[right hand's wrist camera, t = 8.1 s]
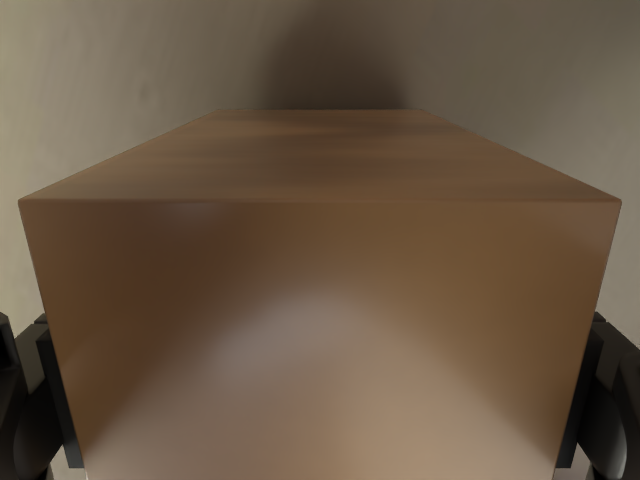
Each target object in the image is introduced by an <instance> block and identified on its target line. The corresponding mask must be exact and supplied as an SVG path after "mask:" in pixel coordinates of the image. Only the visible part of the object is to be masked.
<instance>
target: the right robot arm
mask: <svg viewBox="0 0 640 480" xmlns="http://www.w3.org/2000/svg"><path fill="white" fill-rule="evenodd" d="M577 442H578V444H579V445H580V447H581V448H582V450H583V451H584V452H585V454H586V455H587V457H588V458H589V460H590V461H591V462H590V466H589V469H588V473H587V476H586V480H640V350H639V349H638V348H637V347H636V346H635V345H634V344H633V343H632V342H630V341H629V340H628V339H627V338H626V337H625V336H624V335H623V334H621V333H620V332H619V331H618V330H617V329H616V328H615V327H614V326H613V325H611V324H610V323H609V322H606V319H605V318H604V317H602V316H601V315H600V314H599V313H598V312H594V316H593V320H592V324H591V328H590V332H589V336H588V340H587V344H586V348H585V352H584V356H583V360H582V364H581V368H580V372H579V376H578V380H577V384H576V388H575V392H574V396H573V400H572V404H571V408H570V412H569V416H568V420H567V424H566V428H565V432H564V436H563V440H562V444H561V448H560V452H559V456H558V460H557V464H556V468H571V464H572V461H573V457H574V453H575V449H576V446H577ZM62 444H63V447H64V451H65V454H66V458H67V462H68V466H69V468H84V466H83V462H82V458H81V454H80V450H79V446H78V442H77V438H76V434H75V430H74V426H73V422H72V418H71V414H70V410H69V406H68V402H67V398H66V394H65V390H64V386H63V382H62V378H61V374H60V370H59V366H58V362H57V358H56V354H55V350H54V346H53V342H52V338H51V334H50V330H49V326H48V322H47V318H46V314H45V313H43V314H42V315H41V316H40V317H38V318H37V319H36V320H35V321H34V324H31V325H30V326H28V327H27V328H26V329H25V330H24V331H23V332H22V333H21V334H20V335H18V336H17V337H16V338H15V339H14V336H13V333H12V329H11V326H10V322H9V319H8V316H6V315H5V314H3V313H1V312H0V480H54V478H53V473H52V469H51V466H50V462H51V460H52V459H53V457H54V456H55V454H56V453H57V452H58V450H59V449H60V447H61V446H62Z"/></svg>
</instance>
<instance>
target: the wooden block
mask: <svg viewBox="0 0 640 480" xmlns="http://www.w3.org/2000/svg"><path fill="white" fill-rule="evenodd" d="M621 205H622V201H621V199H619V198H617V197H614V196H612V195H610V194H608V193H605V192H603V191H601V190H599V189H597V188H594V187H592V186H590V185H588V184H586V183H583V182H581V181H579V180H577V179H574V178H572V177H570V176H568V175H566V174H563V173H561V172H559V171H557V170H554V169H552V168H550V167H548V166H546V165H543V164H541V163H539V162H537V161H535V160H532V159H530V158H528V157H526V156H523V155H521V154H519V153H517V152H515V151H512V150H510V149H508V148H506V147H504V146H501V145H499V144H497V143H495V142H492V141H490V140H488V139H486V138H484V137H481V136H479V135H477V134H475V133H472V132H470V131H468V130H466V129H464V128H461V127H459V126H457V125H455V124H453V123H450V122H448V121H446V120H444V119H441V118H439V117H437V116H435V115H433V114H430V113H428V112H426V111H424V110H216V111H214V112H212V113H209V114H207V115H205V116H203V117H201V118H198V119H196V120H194V121H192V122H189V123H187V124H185V125H183V126H181V127H178V128H176V129H174V130H172V131H169V132H167V133H165V134H163V135H161V136H158V137H156V138H154V139H152V140H149V141H147V142H145V143H143V144H141V145H138V146H136V147H134V148H132V149H130V150H127V151H125V152H123V153H121V154H118V155H116V156H114V157H112V158H110V159H107V160H105V161H103V162H101V163H98V164H96V165H94V166H92V167H90V168H87V169H85V170H83V171H81V172H78V173H76V174H74V175H72V176H70V177H67V178H65V179H63V180H61V181H58V182H56V183H54V184H52V185H50V186H47V187H45V188H43V189H41V190H39V191H36V192H34V193H32V194H30V195H27V196H25V197H23V198H21V199H19V200H18V207H19V211H20V215H21V219H22V223H23V227H24V231H25V235H26V239H27V243H28V246H29V250H30V254H31V258H32V262H33V266H34V270H35V274H36V278H37V282H38V286H39V290H40V294H41V298H42V302H43V306H44V310H45V314H46V318H47V322H48V326H49V330H50V334H51V338H52V342H53V346H54V350H55V354H56V358H57V362H58V366H59V370H60V374H61V378H62V382H63V386H64V390H65V394H66V398H67V402H68V406H69V410H70V414H71V418H72V422H73V426H74V430H75V434H76V438H77V442H78V446H79V450H80V454H81V458H82V462H83V466H84V470H85V474H86V478H87V480H553V476H554V472H555V468H556V464H557V460H558V456H559V452H560V448H561V444H562V440H563V436H564V432H565V428H566V424H567V420H568V416H569V412H570V408H571V404H572V400H573V396H574V392H575V388H576V384H577V380H578V376H579V372H580V368H581V364H582V360H583V356H584V352H585V348H586V344H587V340H588V336H589V332H590V328H591V324H592V320H593V316H594V312H595V308H596V304H597V300H598V296H599V292H600V288H601V284H602V280H603V276H604V272H605V268H606V264H607V260H608V256H609V252H610V248H611V244H612V240H613V236H614V232H615V228H616V224H617V220H618V216H619V213H620V209H621Z"/></svg>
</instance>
